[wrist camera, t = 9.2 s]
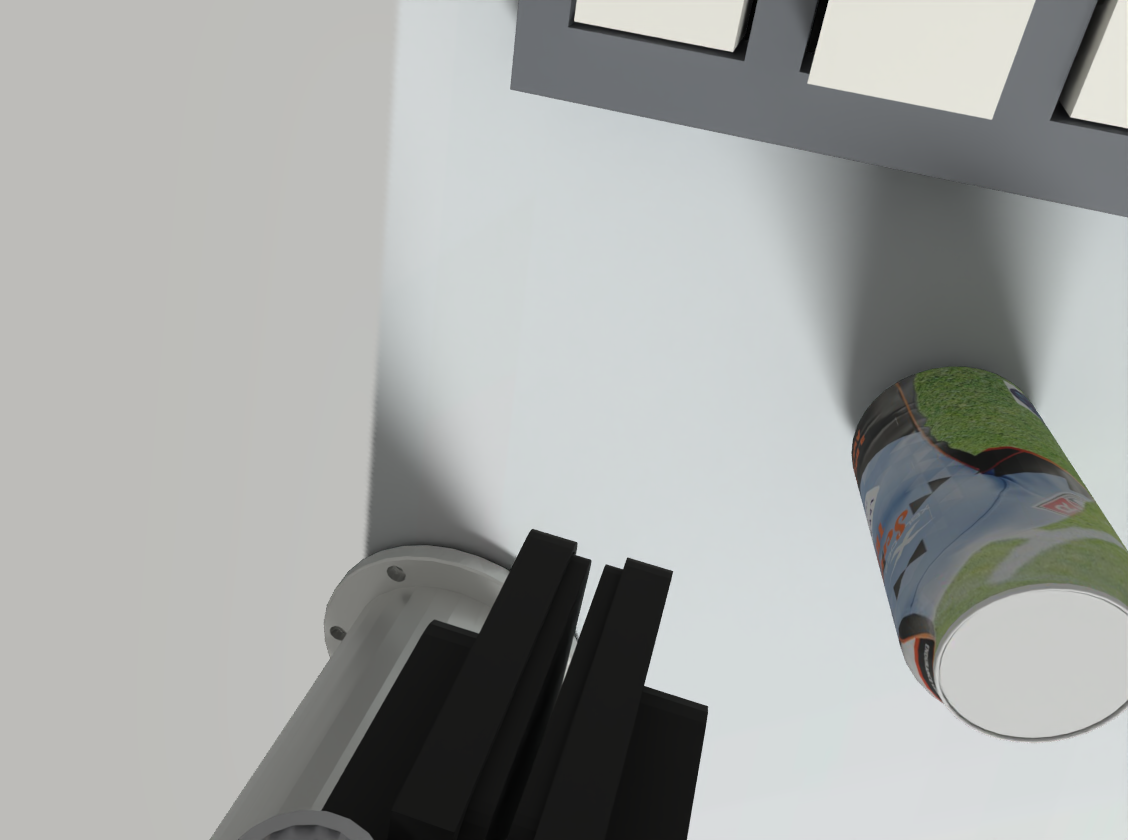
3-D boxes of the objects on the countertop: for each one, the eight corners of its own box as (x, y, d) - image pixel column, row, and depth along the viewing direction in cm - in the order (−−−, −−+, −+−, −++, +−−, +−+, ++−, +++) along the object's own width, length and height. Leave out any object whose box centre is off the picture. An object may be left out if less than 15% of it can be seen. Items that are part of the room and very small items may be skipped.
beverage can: (827, 383, 34) (805, 611, 24) (1056, 314, 30) (1140, 546, 21) (887, 525, 36) (890, 789, 26) (1106, 475, 33) (1205, 755, 23)
